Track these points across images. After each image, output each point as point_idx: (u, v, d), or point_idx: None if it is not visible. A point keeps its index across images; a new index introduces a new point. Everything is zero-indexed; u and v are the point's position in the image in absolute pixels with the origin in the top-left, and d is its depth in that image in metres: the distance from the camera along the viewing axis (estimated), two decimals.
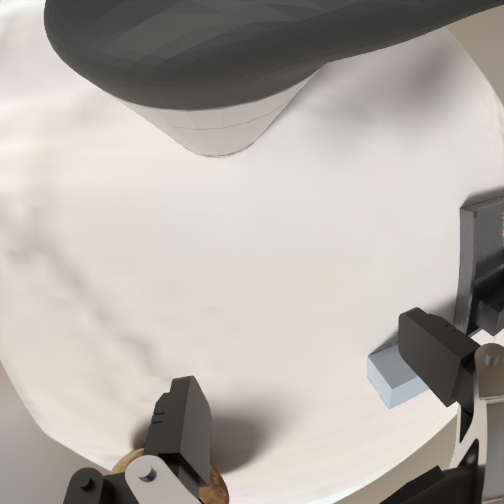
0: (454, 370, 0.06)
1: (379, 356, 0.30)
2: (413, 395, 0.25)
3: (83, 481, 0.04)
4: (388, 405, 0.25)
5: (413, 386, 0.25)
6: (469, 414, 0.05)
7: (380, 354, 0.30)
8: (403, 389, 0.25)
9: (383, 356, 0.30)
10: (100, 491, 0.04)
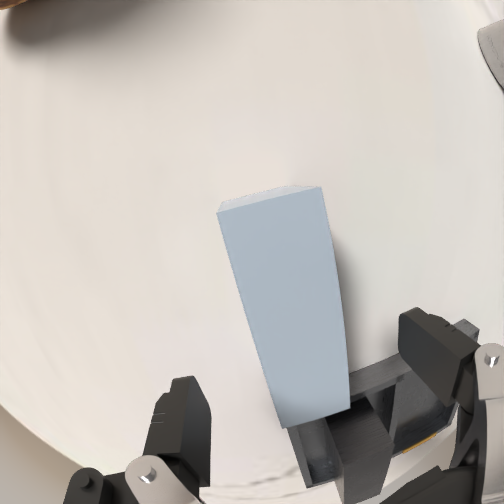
0: (454, 370, 0.06)
1: None
2: (252, 299, 0.11)
3: (83, 481, 0.04)
4: (236, 207, 0.10)
5: (300, 276, 0.11)
6: (469, 414, 0.05)
7: None
8: (302, 237, 0.10)
9: None
10: (100, 491, 0.04)
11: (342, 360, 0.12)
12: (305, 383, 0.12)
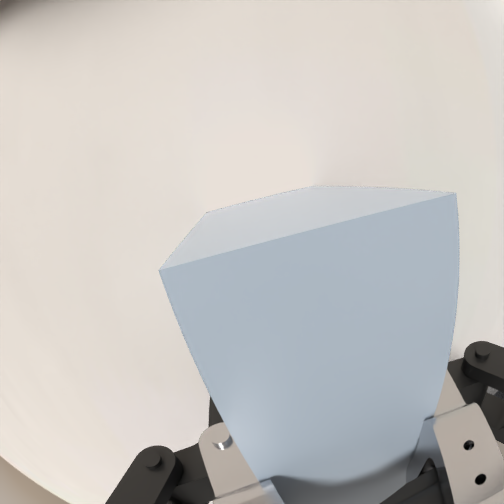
0: None
1: None
2: (268, 454, 0.04)
3: (152, 460, 0.05)
4: (225, 250, 0.03)
5: (379, 405, 0.04)
6: None
7: None
8: (404, 327, 0.03)
9: None
10: (173, 468, 0.05)
11: (403, 477, 0.05)
12: None
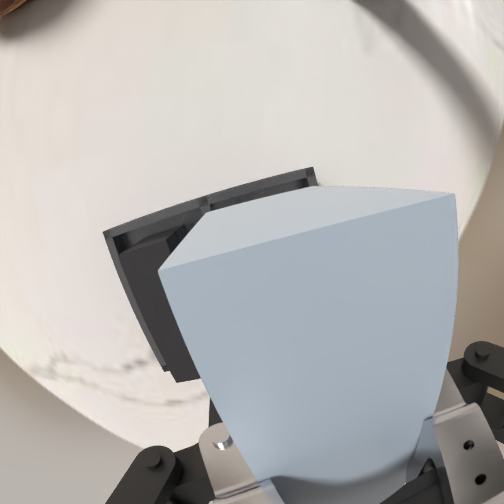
0: None
1: None
2: (267, 454, 0.04)
3: (152, 460, 0.05)
4: (224, 251, 0.03)
5: (379, 405, 0.04)
6: None
7: None
8: (403, 329, 0.03)
9: None
10: (173, 468, 0.05)
11: (402, 477, 0.05)
12: None
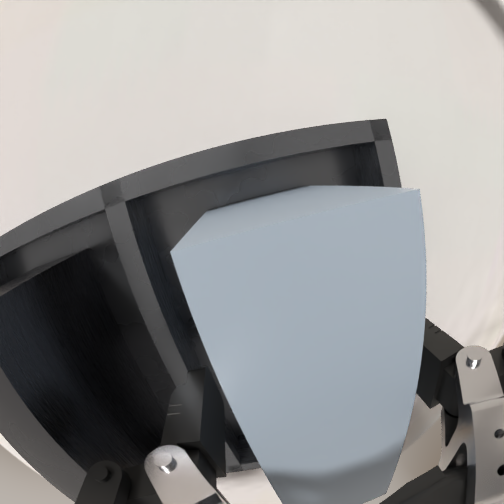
0: (435, 372, 0.06)
1: None
2: (260, 421, 0.05)
3: (101, 474, 0.04)
4: (222, 236, 0.04)
5: (359, 377, 0.04)
6: (453, 417, 0.05)
7: None
8: (375, 305, 0.04)
9: None
10: (119, 484, 0.04)
11: (392, 460, 0.06)
12: (335, 490, 0.06)
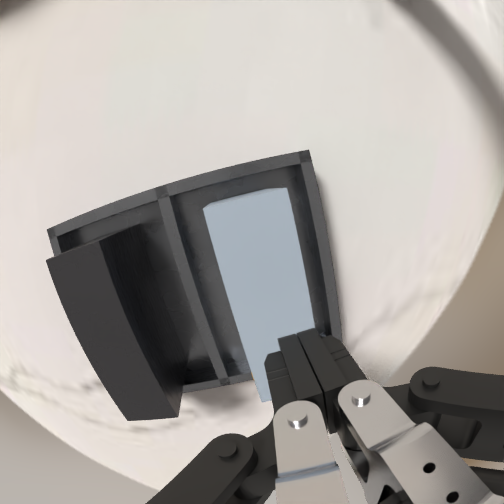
0: (324, 400, 0.07)
1: None
2: (231, 279, 0.13)
3: (226, 450, 0.05)
4: (218, 204, 0.12)
5: (271, 260, 0.13)
6: (359, 451, 0.06)
7: None
8: (272, 229, 0.13)
9: None
10: (252, 454, 0.05)
11: None
12: None
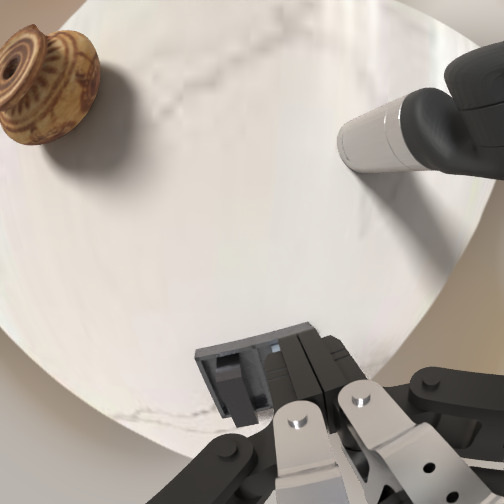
0: (324, 400, 0.07)
1: None
2: None
3: (226, 450, 0.05)
4: None
5: None
6: (359, 451, 0.06)
7: None
8: None
9: None
10: (252, 454, 0.05)
11: None
12: None
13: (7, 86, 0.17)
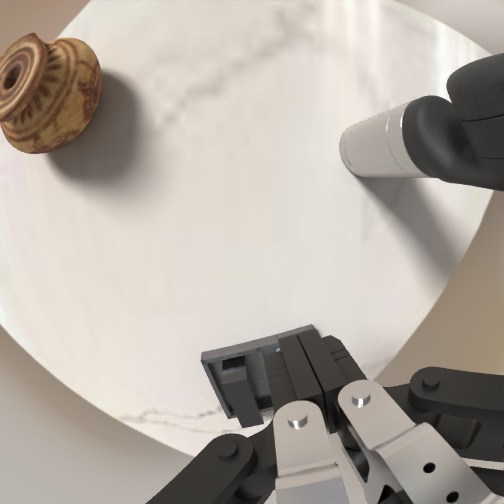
0: (324, 400, 0.07)
1: None
2: None
3: (226, 450, 0.05)
4: None
5: None
6: (359, 451, 0.06)
7: None
8: None
9: None
10: (252, 454, 0.05)
11: None
12: None
13: (9, 96, 0.18)
